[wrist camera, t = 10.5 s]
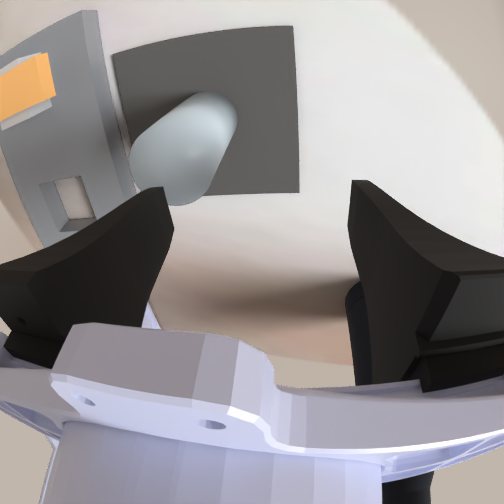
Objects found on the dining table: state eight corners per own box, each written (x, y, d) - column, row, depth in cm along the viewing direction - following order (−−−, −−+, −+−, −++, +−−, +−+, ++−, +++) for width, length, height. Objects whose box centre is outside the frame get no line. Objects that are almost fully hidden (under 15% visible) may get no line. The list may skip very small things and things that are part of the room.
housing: (150, 236, 26) (131, 272, 23) (55, 240, 28) (34, 269, 24) (96, 10, 14) (57, 11, 10) (-4, 64, 15) (-40, 78, 12)
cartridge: (239, 145, 20) (217, 205, 14) (183, 147, 20) (138, 206, 14) (236, 89, 17) (208, 122, 11) (176, 93, 18) (121, 130, 12)
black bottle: (347, 321, 32) (354, 603, 9) (341, 281, 28) (352, 626, 5) (403, 310, 30) (434, 587, 7) (406, 269, 26) (454, 603, 3)
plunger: (78, 85, 16) (44, 100, 13) (-3, 122, 17) (-33, 140, 14) (71, 46, 14) (35, 55, 11) (-11, 91, 15) (-42, 107, 12)
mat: (299, 190, 22) (299, 192, 22) (148, 197, 24) (146, 199, 23) (292, 26, 15) (292, 25, 14) (115, 53, 16) (112, 54, 16)
